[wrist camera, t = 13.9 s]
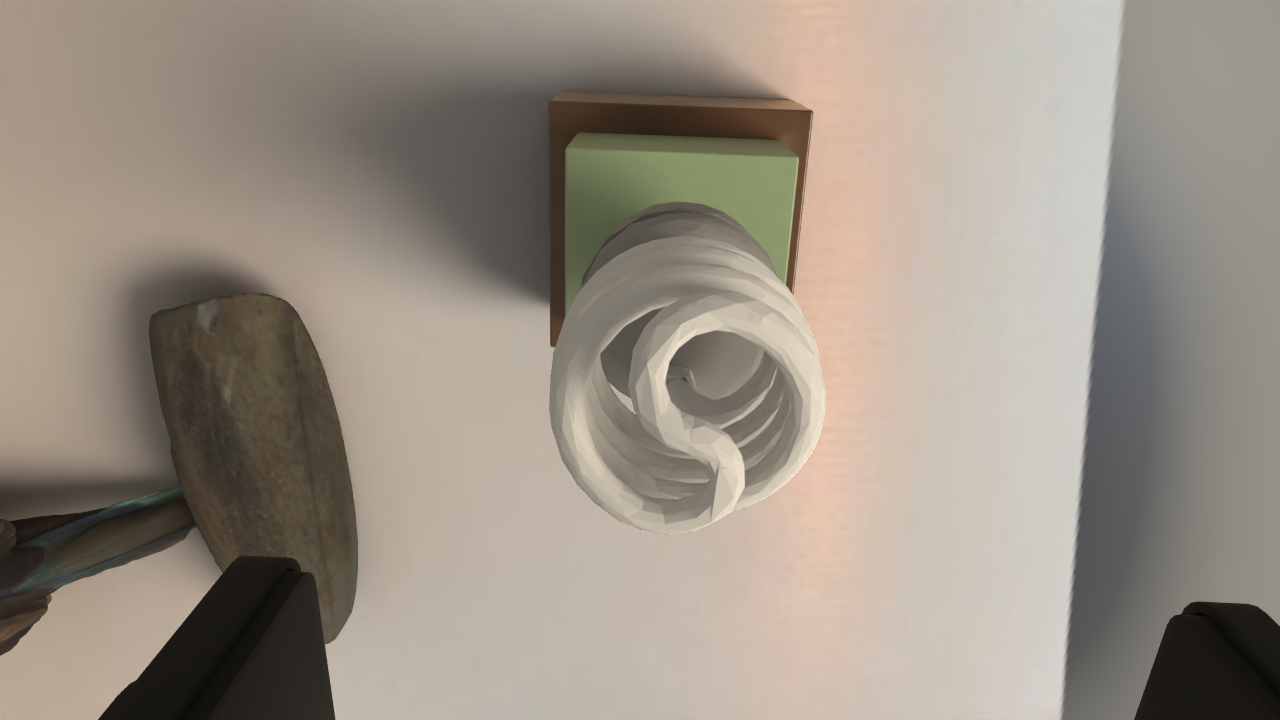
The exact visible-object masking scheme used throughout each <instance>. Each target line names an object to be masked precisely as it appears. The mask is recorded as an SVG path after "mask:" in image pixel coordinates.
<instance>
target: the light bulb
mask: <svg viewBox="0 0 1280 720" xmlns="http://www.w3.org/2000/svg"><path fill="white" fill-rule="evenodd" d="M608 382H609V383H610V384H612V385H613V386H614V387H615V388H616V389H617V390H618V391H620V392H621V393H623V394H624V395H626V396H628V397H629V398H631V399H632V403H633V407H634V411H635V413H636V414H637V415H636V414H634V413H633V412H631V411H630V410H629V409H628V408H627V407H626V406H625V405H624V404H623V403H622V402H621V401H620V400H619V398H618V397H617V396H616V394H615V393H614V391H613V390H612V388H611V387H610V385H609V383H608ZM825 402H826V390H825V384H824V379H823V374H822V371H821V365H820V357H819V351H818V348H817V345H816V342H815V339H814V337H813V334H812V331H811V328H810V327H809V326H808V323H807V321H806V318H805V316H804V313H803V311H802V308H801V307H800V305H799V304H798V302H797V301H796V299H795V297H794V296H793V294H792V293H791V291H790V290H789V288H788V287H787V286H786V285H785V284H784V283H783V282H782V281H781V280H780V279H779V278H778V277H777V275H776V272H775V270H774V267H773V265H772V262H771V260H770V257H769V255H768V253H767V252H766V251H765V250H764V249H763V248H762V247H761V245H760V244H759V243H758V242H757V241H756V240H755V239H754V238H753V237H752V236H751V235H750V234H749V233H748V231H747V230H746V229H745V228H744V227H743V226H742V225H741V224H740V223H739V222H737V221H736V220H734V219H733V218H732V217H730V216H729V215H727V214H726V213H725V212H723V211H720V210H717V209H715V208H712V207H710V206H707V205H704V204H699V203H689V202H678V201H676V202H669V203H661V204H654V205H651V206H650V207H648V208H646V209H644V210H642V211H640V212H638V213H636V214H634V215H632V216H630V217H628V218H626V219H625V220H624V221H623V222H622V223H621V224H620V225H619V226H618V227H617V228H616V229H615V230H614V231H613V232H612V234H611V235H610V236H609V237H608V238H607V239H606V240H605V241H604V242H603V243H602V244H601V245H600V247H599V249H598V251H597V252H596V254H595V256H594V258H593V259H592V261H591V263H590V265H589V266H588V268H587V270H586V272H585V273H584V275H583V277H582V286H581V290H580V291H579V293H578V294H577V296H576V298H575V300H574V302H573V304H572V306H571V308H570V310H569V312H568V313H567V315H566V317H565V319H564V323H563V326H562V329H561V332H560V335H559V338H558V341H557V344H556V347H555V350H554V353H553V362H552V371H551V384H550V405H549V410H550V418H551V426H552V430H553V433H554V436H555V439H556V442H557V446H558V449H559V452H560V455H561V458H562V461H563V462H564V464H565V466H566V467H567V469H568V470H569V472H570V473H571V475H572V476H573V478H574V480H575V481H576V483H577V484H578V486H579V487H580V488H581V489H582V490H583V491H584V492H585V493H586V494H587V495H588V496H589V497H590V498H591V499H592V501H593V502H594V503H595V504H597V505H598V506H600V507H601V508H602V509H604V510H605V511H606V512H608V513H609V514H610V515H612V516H613V517H614V518H616V519H617V520H618V521H620V522H623V523H625V524H628V525H630V526H633V527H635V528H638V529H640V530H645V531H650V532H656V533H661V534H666V535H668V534H677V533H687V532H694V531H696V530H698V529H700V528H702V527H705V526H707V525H709V524H711V523H713V522H715V521H717V520H720V519H721V518H723V517H724V516H725V515H727V514H728V513H729V512H732V511H736V510H740V509H744V508H746V507H748V506H750V505H753V504H755V503H757V502H759V501H761V500H763V499H765V498H767V497H769V496H770V495H771V494H773V493H774V492H776V491H777V490H778V489H780V488H781V487H782V486H784V485H785V484H786V483H787V482H788V481H789V480H790V479H792V478H793V477H794V476H795V475H796V474H797V473H798V472H799V471H800V469H801V468H802V467H803V465H804V464H805V462H806V461H807V459H808V458H809V456H810V455H811V453H812V452H813V450H814V448H815V446H816V444H817V442H818V440H819V436H820V433H821V429H822V425H823V422H824V418H825Z"/></svg>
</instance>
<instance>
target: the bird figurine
mask: <svg viewBox="0 0 1280 720" xmlns="http://www.w3.org/2000/svg"><path fill="white" fill-rule="evenodd" d="M194 527H197V525H196V522H195V519H194V517H193V515H192V513H191V510H190V508H189V506H188V504H187V502H186V499H185V497H184V494H183V491H182V488H181V486H180V487H176V488H174V489H171V490H167V491H161V492H158V493H152V494H149V495H146V496H143V497H140V498H137V499H134V500H130V501H126V502H121V503H117V504H114V505H112V506H110V507H107V508H101V509H96V510H92V511H87V512H82V513H72V514H66V515H51V516H40V517H34V518H28V519H21V520H16V521H9V522H8V521H6V520H3V519H0V656H1V655H2V654H4V653H6V652H8V651H10V650H11V649H12V648H13V647H14V646H15V645H17V643H18V642H19V640H20V638H22V637H23V636H24V635H25V634H27V632H28V631H29V630H30V629H31V627H32V626H33V625H34V624H35V623H36V622H37V621H39V620H40V618H41V617H42V616H43V615H44V614H45V613H46V612H47V609H48V604H49V603H50V601H51V599H52V598H51V595H50V594H51V593H53V592H54V591H56V590H57V589H59V588H60V587H62V586H63V585H66V584H69V583H71V582H74V581H76V580H79V579H81V578H85V577H90V576H93V575H96V574H98V573H100V572H102V571H104V570H107V569H110V568H115V567H118V566H122V565H125V564H127V563H129V562H131V561H133V560H137V559H140V558H143V557H146V556H149V555H151V554H154V553H157V552H160V551H163V550H165V549H167V548H169V547H171V546H173V545H175V544H177V543H178V542H179V541H182V540H184V539H185V538H186V536H187V534H188V533H189V532H190V530H191V529H193V528H194Z"/></svg>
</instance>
